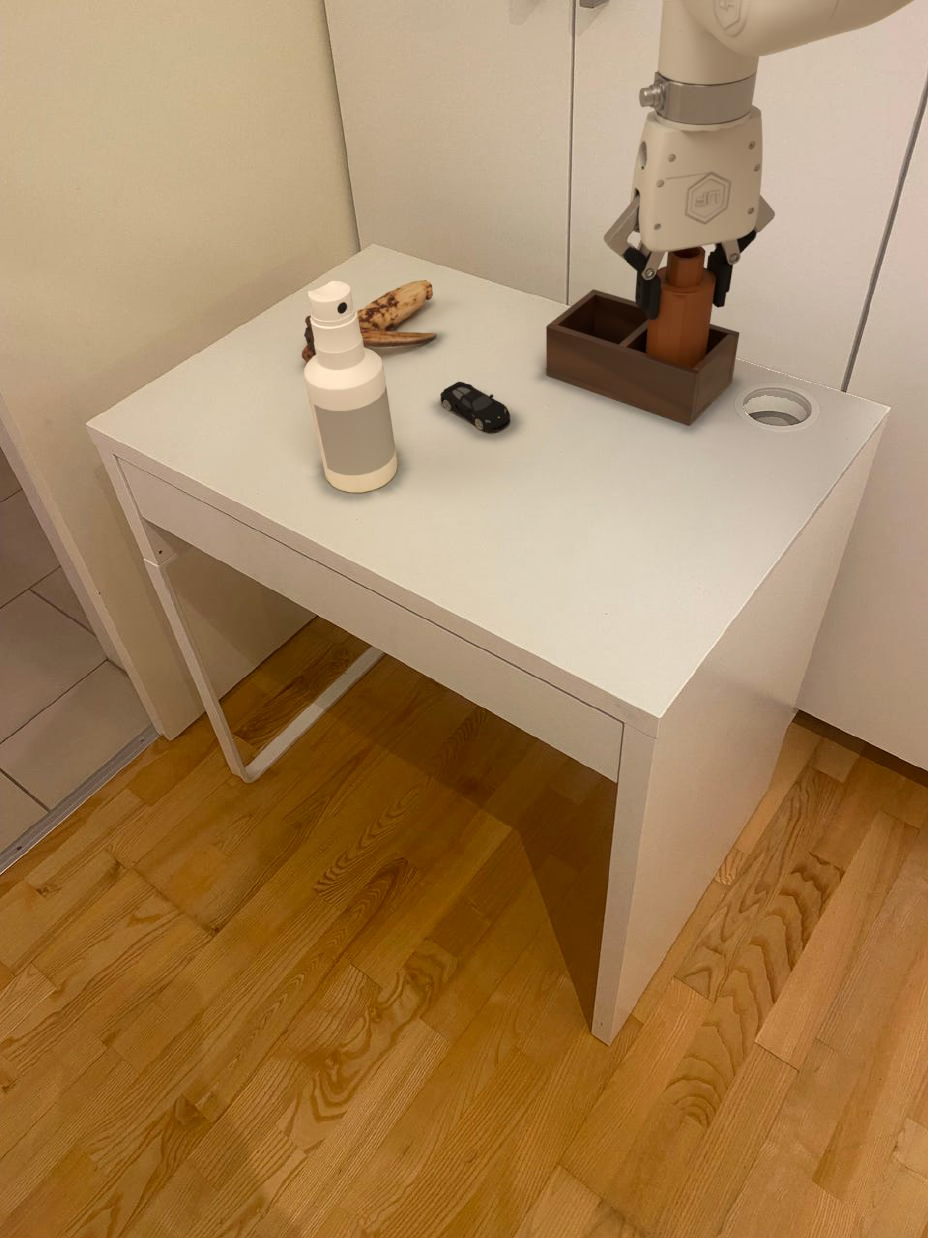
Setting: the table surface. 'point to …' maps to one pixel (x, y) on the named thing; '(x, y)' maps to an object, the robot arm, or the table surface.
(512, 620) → the table surface
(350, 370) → the spray bottle
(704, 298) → the bottle
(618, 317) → the holder
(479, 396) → the toy car
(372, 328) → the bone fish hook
